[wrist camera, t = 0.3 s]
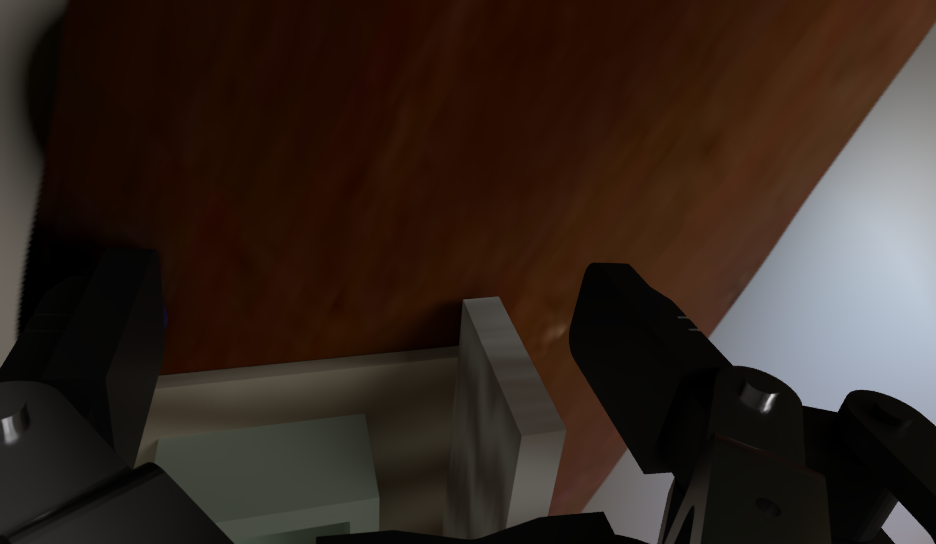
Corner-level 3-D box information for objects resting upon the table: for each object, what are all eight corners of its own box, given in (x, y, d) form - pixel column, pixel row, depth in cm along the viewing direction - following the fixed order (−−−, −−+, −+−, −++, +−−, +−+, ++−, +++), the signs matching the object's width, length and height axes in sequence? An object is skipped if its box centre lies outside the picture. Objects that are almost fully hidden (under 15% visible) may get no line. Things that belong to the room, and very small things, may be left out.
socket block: (158, 438, 35) (141, 534, 30) (364, 413, 38) (379, 497, 33) (188, 563, 41) (178, 660, 36) (365, 533, 44) (378, 619, 39)
